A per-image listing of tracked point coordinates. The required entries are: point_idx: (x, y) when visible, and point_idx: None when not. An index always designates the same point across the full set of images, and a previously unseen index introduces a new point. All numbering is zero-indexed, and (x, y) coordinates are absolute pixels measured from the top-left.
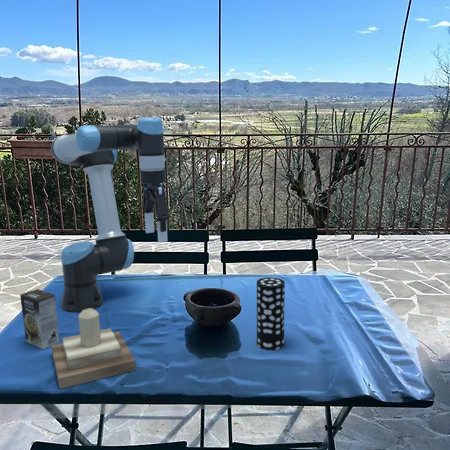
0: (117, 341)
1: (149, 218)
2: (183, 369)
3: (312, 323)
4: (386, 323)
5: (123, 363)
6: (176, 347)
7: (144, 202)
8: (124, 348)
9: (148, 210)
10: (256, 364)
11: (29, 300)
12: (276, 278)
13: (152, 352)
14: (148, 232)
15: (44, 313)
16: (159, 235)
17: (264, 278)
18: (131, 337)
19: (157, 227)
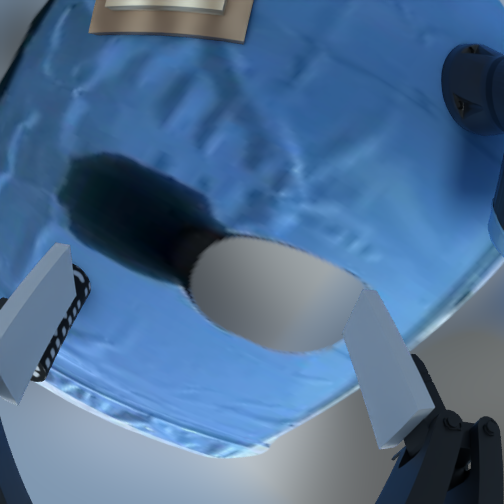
0: (138, 5)
1: (383, 393)
2: (54, 115)
3: (108, 360)
4: (80, 400)
5: (93, 10)
6: (131, 136)
7: (474, 492)
8: (148, 24)
9: (419, 447)
10: (25, 226)
11: None
12: (38, 380)
13: (140, 84)
14: (357, 303)
15: None
16: (33, 275)
17: (42, 369)
18: (238, 71)
19: (17, 312)
